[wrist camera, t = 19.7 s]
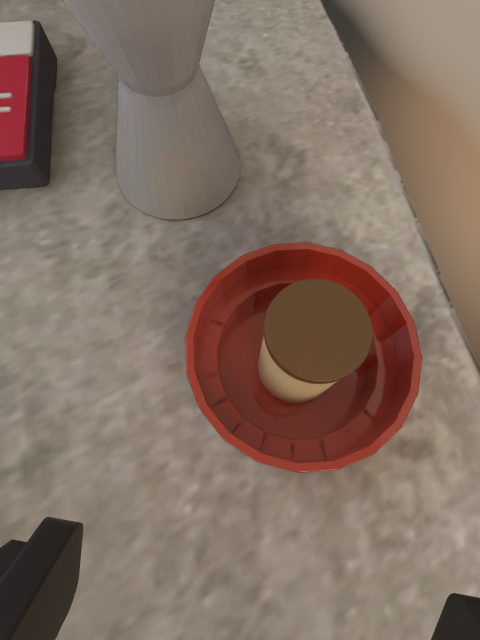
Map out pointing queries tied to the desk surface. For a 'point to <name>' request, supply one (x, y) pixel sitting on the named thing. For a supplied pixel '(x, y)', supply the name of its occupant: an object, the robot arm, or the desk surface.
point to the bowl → (330, 406)
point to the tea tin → (312, 339)
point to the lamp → (163, 105)
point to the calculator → (25, 104)
